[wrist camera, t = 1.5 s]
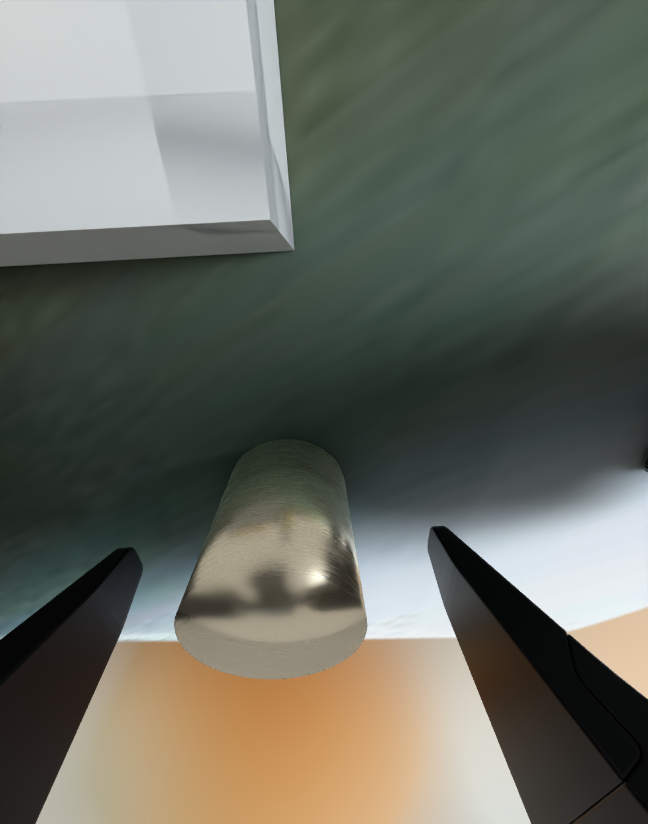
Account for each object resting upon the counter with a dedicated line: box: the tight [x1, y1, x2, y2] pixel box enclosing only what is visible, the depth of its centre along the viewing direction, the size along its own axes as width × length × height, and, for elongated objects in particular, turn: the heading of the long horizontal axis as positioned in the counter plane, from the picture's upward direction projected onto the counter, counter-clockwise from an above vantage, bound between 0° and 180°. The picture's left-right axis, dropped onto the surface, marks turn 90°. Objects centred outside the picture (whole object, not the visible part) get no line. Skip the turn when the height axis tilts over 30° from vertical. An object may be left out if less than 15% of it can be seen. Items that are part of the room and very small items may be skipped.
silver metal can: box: [174, 439, 367, 679], centre depth 9 cm, size 4×4×5 cm
